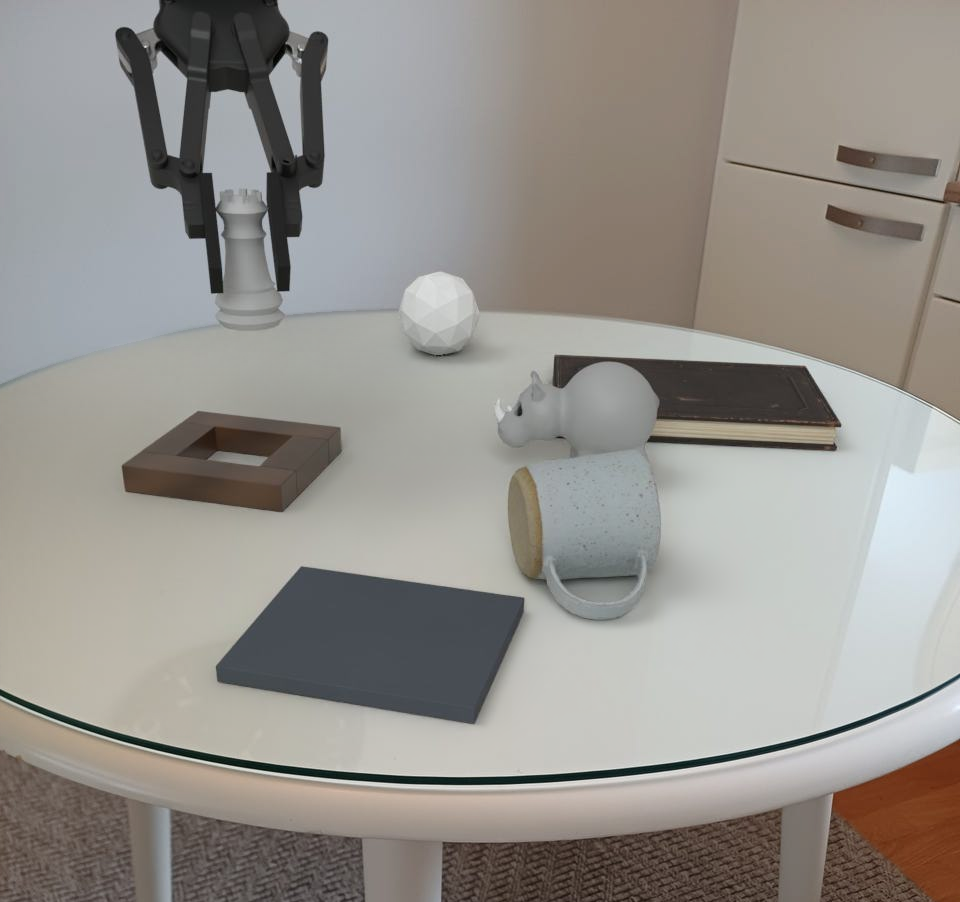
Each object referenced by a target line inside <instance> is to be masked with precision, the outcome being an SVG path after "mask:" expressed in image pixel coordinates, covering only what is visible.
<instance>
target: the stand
mask: <svg viewBox="0 0 960 902" xmlns="http://www.w3.org/2000/svg"><path fill="white" fill-rule="evenodd" d="M218 451H221V452H228V453H236V454H245V455H252V456H260V457H261V456H262V457H267V459H265V460H264V461H263V462H262V463H261V464H260V465H252V464H245V463H244V464H242V463H235V462H228V461H227V462H226V461H221V460H220V461H219V460H212V459H209V458H210V457H211V456H212V455H213V454H215V453H216V452H218ZM342 451H343V450H342V429H341V427H340V426H333V425H326V424H325V425H324V424H316V423H306V422H299V421H291V420H290V421H289V420H282V419H281V420H280V419H272V418H265V417H254V416H246V415H236V414H228V413H220V412H212V411H203V410H198V411H196V412H194V413H193V414H191V415H190V416H188V418H186V419H184V420H183V421H182V422H180V423H179V424H177V425H176V426H174V427H172V429H170V430H168V431H167V432H166V433H164V434H163V435H162V436H161V437H159V438H157V439H156V440H154V441H153V442H152V443H150V444H149V445H147V447H145V448H144V449H142V450H140V451H139V452H138V453H137V454H135V455H134V456H132V457H131V458H129V459H128V460H127V461H125V462H124V463H123V464H121V471H122V477H123V485H124V491H125V492H128V493H135V494H143V495H153V496H159V497H168V498H175V499H182V500H188V501H189V500H191V501H198V502H206V503H212V504H213V503H214V504H220V505H229V506H235V507H242V508H250V509H259V510H264V511H265V510H266V511H273V512H281V513H282V512H284V511H285V510H286V509H287V508H288V507H289V506H290V505H291V503H293V501H295V499H296V498H298V497H299V495H301V494H302V492H304V491H305V490H306V488H307V487H308V486H309V485H310V484H312V482H313V481H314V480H315V479H316V478H317V477H318V476H319V475H320V474H321V473H322V472H323V471H325V469H326V468H327V467H328V466H329V465H330V464H331V463H332V461H334V460H335V458H336V457H338V455H339V454H341V452H342Z"/></svg>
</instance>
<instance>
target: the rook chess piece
mask: <svg viewBox="0 0 960 902" xmlns="http://www.w3.org/2000/svg"><path fill="white" fill-rule="evenodd" d="M238 192H239V194H234V189H231V188H229V189H224V190H221V191H219V202H218V204H217V205H216V214H218V216H219V217H220V218H221V220H222V223H223V231H222V232H221V234H220V236H221V238H222V239H223V240H224V247H225V248H224V250H225V251H224V252H225V254H224V274H223V293H216V295H215V299H214V304H215V305H216V306H217V307H218V308H219V310H218V311H217V312H216V314H215V315H214V318H215V319H216V320H217V322H219V324H220V325H221V326H222V327H223V328H225V329H227V330H228V329H229V330H233V331H241V332H256V331H265V330H269V329H274V328H276V327H277V326H279V325H280V324H281V323H282V321H283V319H284V317H285V313H284V312H283V311H282V310H281V309H279V308H280V307H281V305H282V304H283V301H284V300H283V296H282V294H281V293H280V292H277V288H276V287H275V285H276V282H274V281H273V280H272V277H271V274H270V271H269V266H268V262H267V261H268V260H267V255H266V249H265V238H266V237H267V232H266V231H265V230H264V228H263V227H264V226H263V220H264V217H265V216H266V214H267V213H268V209H269V208H268V207H267V203H265V202H264V200H263V195H262V191H260V190H259V189H250V194H248V188H238Z"/></svg>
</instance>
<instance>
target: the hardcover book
mask: <svg viewBox="0 0 960 902" xmlns="http://www.w3.org/2000/svg"><path fill="white" fill-rule="evenodd" d="M600 362H618V363H622V364H625V365H628V366H630V367H632V368H633V369H635V370H637V371H638V372H639V373H640V374H641V375H643V377H644V378H645V379H646V380H647V381H648V383H649V384H650V386H651V388H652V390H653V391H654V393H655V394H656V395H657V397H658V399H659V406H658V409H657V418H656V423H655V426H654V429H653V432H652V434H651V436H650V437H649V439H648V440H647V442H649V443H650V442H651V443H652V442H653V443H674V444H696V445H697V444H698V445H713V446H714V445H716V446H738V447H756V448H757V447H758V448H777V449H797V450H798V449H799V450H820V451H837V449H838V446H837V444H836V443H835V438H836V437H837V433H836V431H837V429H836V428H842V423H841V421H840V419H839V418H838V416H837V415H836V412H835V411H834V410H833V408H832V406H831V405H830V403H829V401H828V400H827V398H826V396H825V395H824V393H823V392H822V390H821V388H820V387H819V385H818V384H817V382H816V381H815V378H814V377H813V376H812V374H811V372H810V371H809V369H808V367H807V366H806V365H799V364H797V365H796V364H778V363H777V364H775V363H756V362H755V363H753V362H751V363H750V362H733V361H732V362H729V361H728V362H727V361H707V360H706V361H705V360H689V359H688V360H687V359H686V360H684V359H665V358H664V359H663V358H662V359H661V358H643V357H641V358H639V357H622V356H621V357H619V356H617V357H616V356H597V355H595V356H594V355H577V354H575V355H574V354H573V355H572V354H554V357H553V371H552V385H553V386H554V387H557V388H560V389H562V388H564V387H565V386H566V385H567V384H568V383H569V381H570V380H571V379H572V378H573V377H574V376H575V375H576V374H577V373H578V372H579V371H581V370H582V369H584V368H586V367H588V366H590V365H592V364H596V363H600ZM557 438H563V437H562V436H558V437H557Z"/></svg>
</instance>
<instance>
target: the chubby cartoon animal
mask: <svg viewBox="0 0 960 902" xmlns="http://www.w3.org/2000/svg"><path fill="white" fill-rule="evenodd" d="M530 378H531V383H530V384H529V385H528V387H526V388H525V389H524V390H523V391H522V392H521V393H520V394H519V396H518V399H517V402H515V405H514V406H513V407H512V406H511V405H507V408H506V409H507V411H505V410H504V409H503V407H502V404H501V403H502V402H501V398H499V397H498V399H497V400H496V403H495V405H494V407H493V408H494V409H493V415H494V418H495V420H496V422H497V435H498V437H499V439H500V440H501V443H503V444H504V445H506V446H508V447H510V448H515V449H519V448H523V447H525V446H527V445H528V444H530V443H531V442H533V441H542V442H543V441H545V442H549V441H552V440H554V439H556V438H559V437H558V436H562V437H561V438H564V439H565V440H566V441H567V442H568V444H569V445H570V452H569V458H574V457H581V456H588V455H595V454H603V453H609V452H615V451H622V450H628V449H636V450H638V451H640V452H641V453H642V454H643V455H644V456H645V458H646V459H647V461H648V463H649V465H650V466H651V464H650V460H649V456H648V453H647V450H646V444H647V442H648V441H647V440H648V439H649V437H650V436H651V434H652V432H653V429H654V426H655V423H656V418H657V409H658V406H659V399H658V397H657V395H656V394H655V393H654V391H653V390H652V388H651V386H650V384H649V383H648V381H647V380H646V379H645V378H644V377H643V375H641V374H640V373H639V372H638V371H637V370H635V369H633V368H632V367H630V366H628V365H625V364H622V363H618V362H600V363H596V364H592V365H590V366H588V367H586V368H584V369H582V370H581V371H579V372H578V373H577V374H576V375H575V376H574V377H573V378H572V379H571V380H570V381H569V383H568V384H567V385H566V386H565V387H564V388H562V389H560V388H557V387H554V386H553V384H550V383H546V382H545V383H544V382H542V380H541V377H540V375H539V373H538V372H537V371H535V370H532V371H531V372H530Z"/></svg>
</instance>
